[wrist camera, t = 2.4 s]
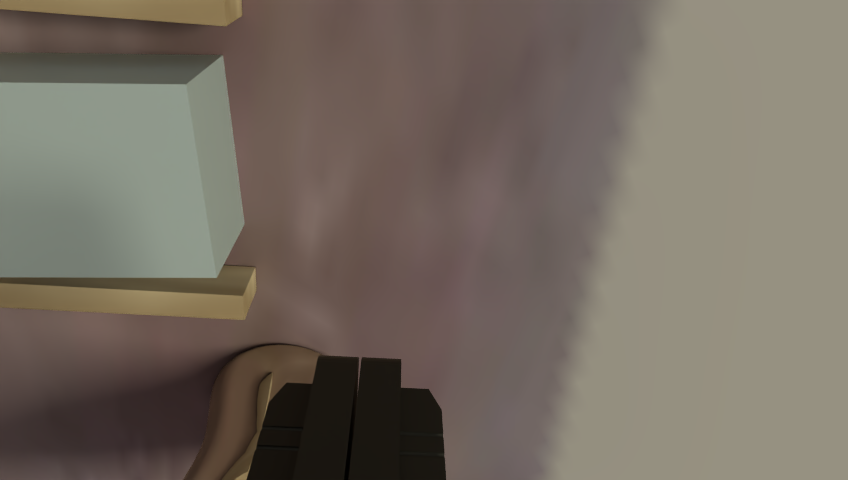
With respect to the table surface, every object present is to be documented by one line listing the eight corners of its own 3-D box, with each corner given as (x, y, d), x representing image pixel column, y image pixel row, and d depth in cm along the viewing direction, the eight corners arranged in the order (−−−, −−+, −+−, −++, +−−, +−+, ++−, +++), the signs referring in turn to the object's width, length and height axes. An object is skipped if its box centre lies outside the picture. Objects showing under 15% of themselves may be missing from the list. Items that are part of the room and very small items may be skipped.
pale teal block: (-29, 50, 20) (-122, 81, 17) (224, 53, 20) (185, 84, 17) (23, 220, 23) (-47, 277, 19) (245, 221, 23) (216, 278, 20)
